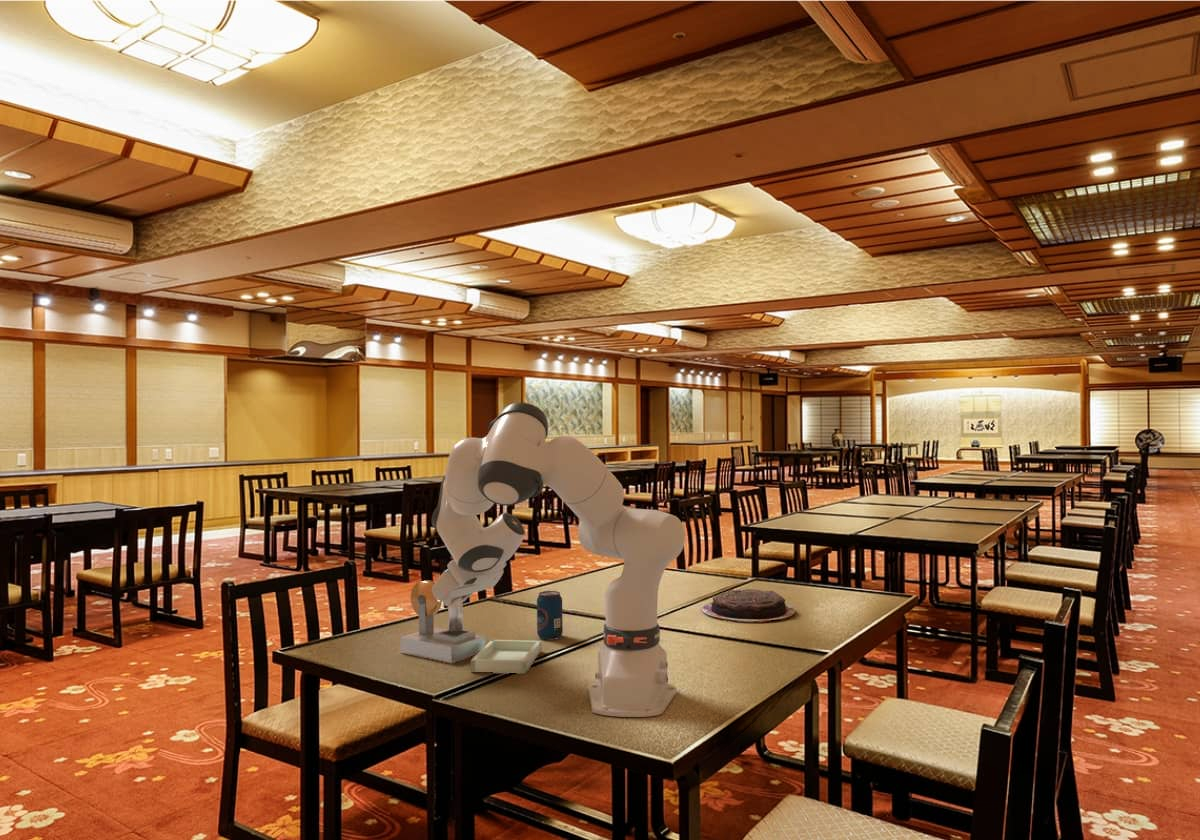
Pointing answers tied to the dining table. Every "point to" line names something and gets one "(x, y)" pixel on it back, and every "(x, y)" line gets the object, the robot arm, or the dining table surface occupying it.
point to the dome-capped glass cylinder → (455, 615)
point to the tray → (506, 656)
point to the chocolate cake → (748, 606)
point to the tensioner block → (437, 631)
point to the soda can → (549, 615)
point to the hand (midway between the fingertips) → (453, 601)
